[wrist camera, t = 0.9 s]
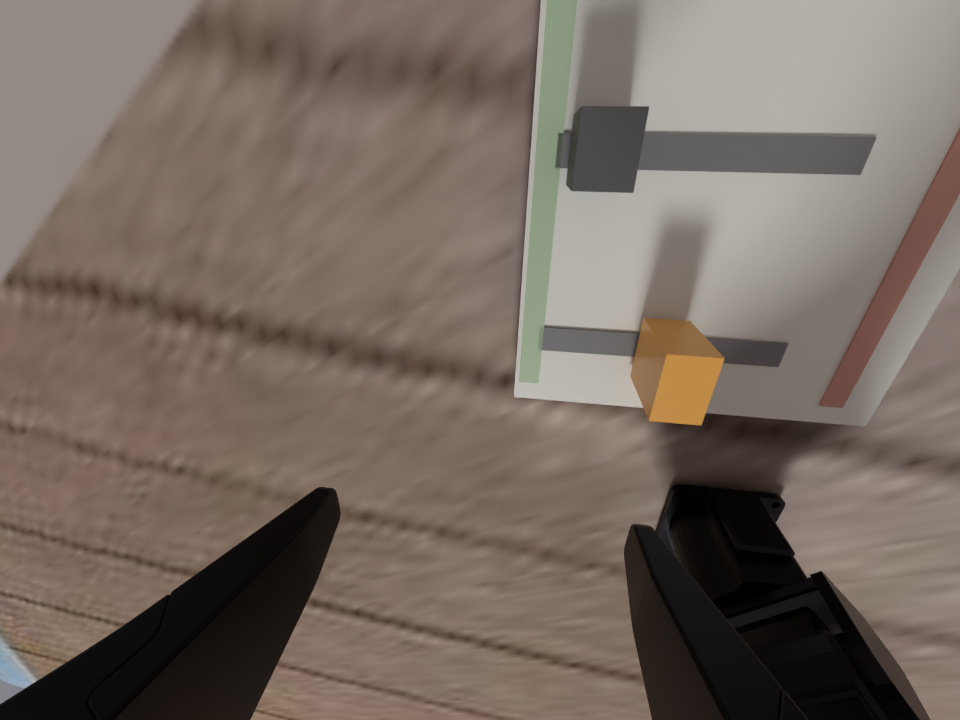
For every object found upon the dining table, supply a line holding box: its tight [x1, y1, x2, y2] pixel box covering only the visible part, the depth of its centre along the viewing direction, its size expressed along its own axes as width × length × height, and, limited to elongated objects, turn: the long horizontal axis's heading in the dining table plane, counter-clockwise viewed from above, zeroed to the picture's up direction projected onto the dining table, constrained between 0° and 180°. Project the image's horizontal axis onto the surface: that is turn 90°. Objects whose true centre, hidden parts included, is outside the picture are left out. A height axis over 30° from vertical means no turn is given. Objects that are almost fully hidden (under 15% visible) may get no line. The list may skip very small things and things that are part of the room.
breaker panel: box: [514, 0, 960, 427], centre depth 14 cm, size 21×17×5 cm
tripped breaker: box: [630, 318, 725, 426], centre depth 16 cm, size 3×2×4 cm, turn 179°
